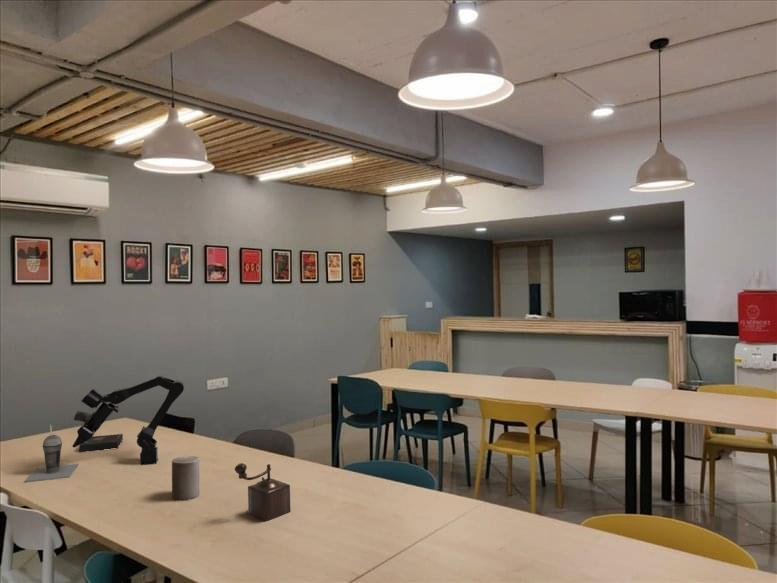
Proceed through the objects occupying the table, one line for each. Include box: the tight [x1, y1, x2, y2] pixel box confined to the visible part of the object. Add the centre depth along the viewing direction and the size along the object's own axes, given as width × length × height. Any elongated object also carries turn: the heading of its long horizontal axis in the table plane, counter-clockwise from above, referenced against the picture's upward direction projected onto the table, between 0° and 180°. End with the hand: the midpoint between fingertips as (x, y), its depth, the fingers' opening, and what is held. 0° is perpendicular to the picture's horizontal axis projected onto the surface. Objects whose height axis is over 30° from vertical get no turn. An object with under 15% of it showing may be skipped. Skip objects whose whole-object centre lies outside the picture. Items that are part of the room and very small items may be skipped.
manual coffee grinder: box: [234, 463, 291, 522], centre depth 181 cm, size 16×11×18 cm
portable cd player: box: [78, 433, 124, 453], centre depth 273 cm, size 16×17×4 cm
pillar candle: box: [171, 455, 201, 501], centre depth 200 cm, size 10×10×15 cm
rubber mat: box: [24, 463, 79, 483], centre depth 231 cm, size 16×18×1 cm
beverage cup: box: [42, 424, 63, 474], centre depth 231 cm, size 7×7×20 cm
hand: (75, 444), depth 234 cm, fingers open, 9 cm apart
